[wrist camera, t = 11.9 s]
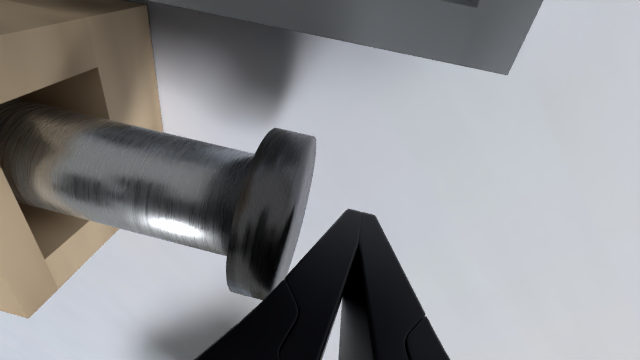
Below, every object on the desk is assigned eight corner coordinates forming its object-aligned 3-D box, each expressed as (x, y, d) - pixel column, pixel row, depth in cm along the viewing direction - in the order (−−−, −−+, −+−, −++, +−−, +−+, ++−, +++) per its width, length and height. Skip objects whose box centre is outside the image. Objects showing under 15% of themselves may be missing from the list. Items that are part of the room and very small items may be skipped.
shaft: (-1, 148, 13) (-155, 223, 9) (-57, 25, 10) (-299, 63, 7) (304, 224, 12) (264, 338, 8) (323, 110, 10) (279, 204, 6)
